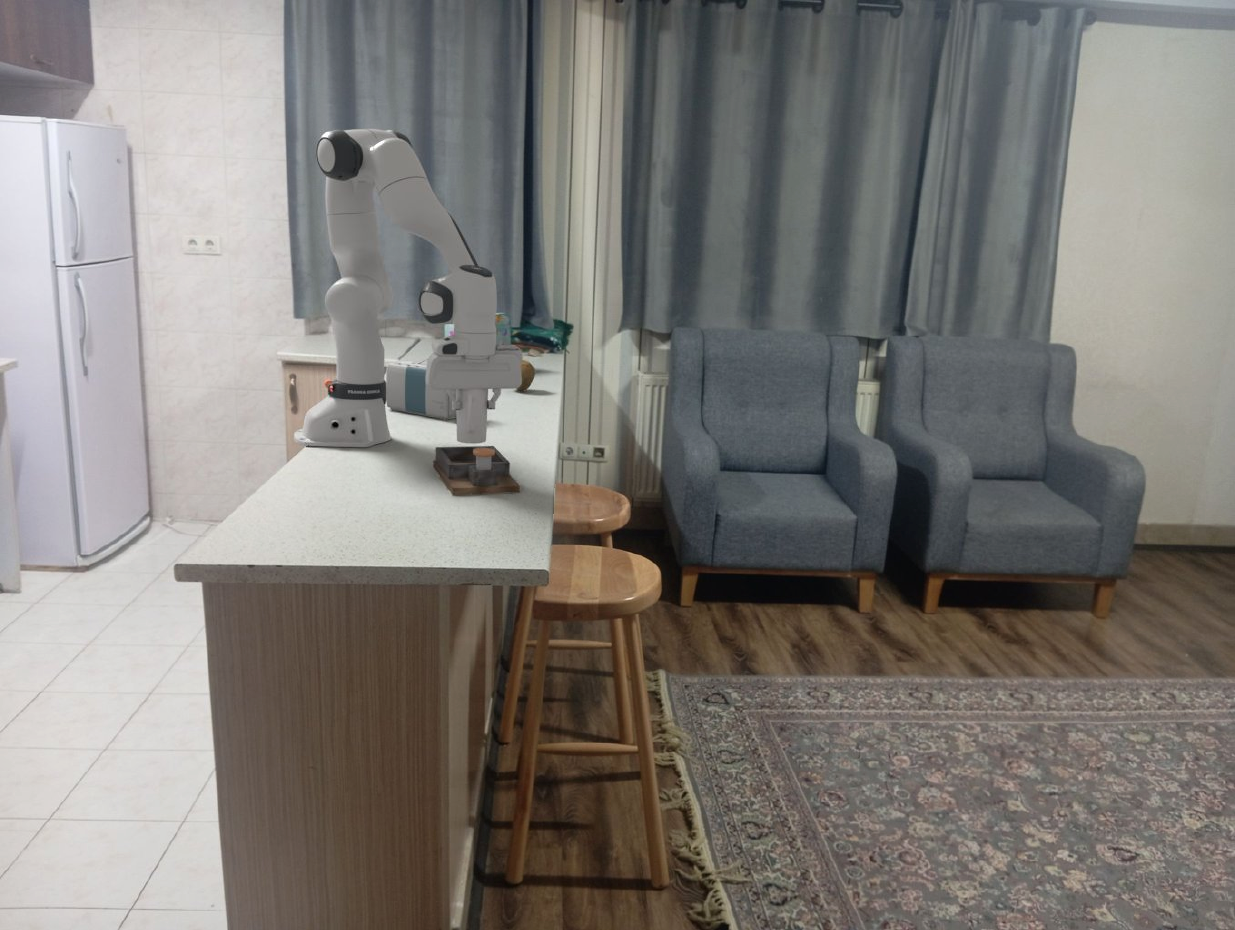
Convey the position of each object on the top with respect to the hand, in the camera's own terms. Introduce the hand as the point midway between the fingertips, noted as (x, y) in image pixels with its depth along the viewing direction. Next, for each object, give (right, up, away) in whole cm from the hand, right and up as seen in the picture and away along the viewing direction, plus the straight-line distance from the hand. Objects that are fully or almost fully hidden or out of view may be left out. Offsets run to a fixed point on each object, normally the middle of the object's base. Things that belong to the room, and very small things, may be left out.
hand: (473, 409), depth 216 cm
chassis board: (0, -15, +1) cm, 15 cm away
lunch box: (-17, +19, +128) cm, 131 cm away
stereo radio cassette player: (-22, +2, +60) cm, 64 cm away
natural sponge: (0, +11, +101) cm, 101 cm away
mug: (-1, -7, +2) cm, 7 cm away
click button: (+3, -14, -7) cm, 16 cm away
